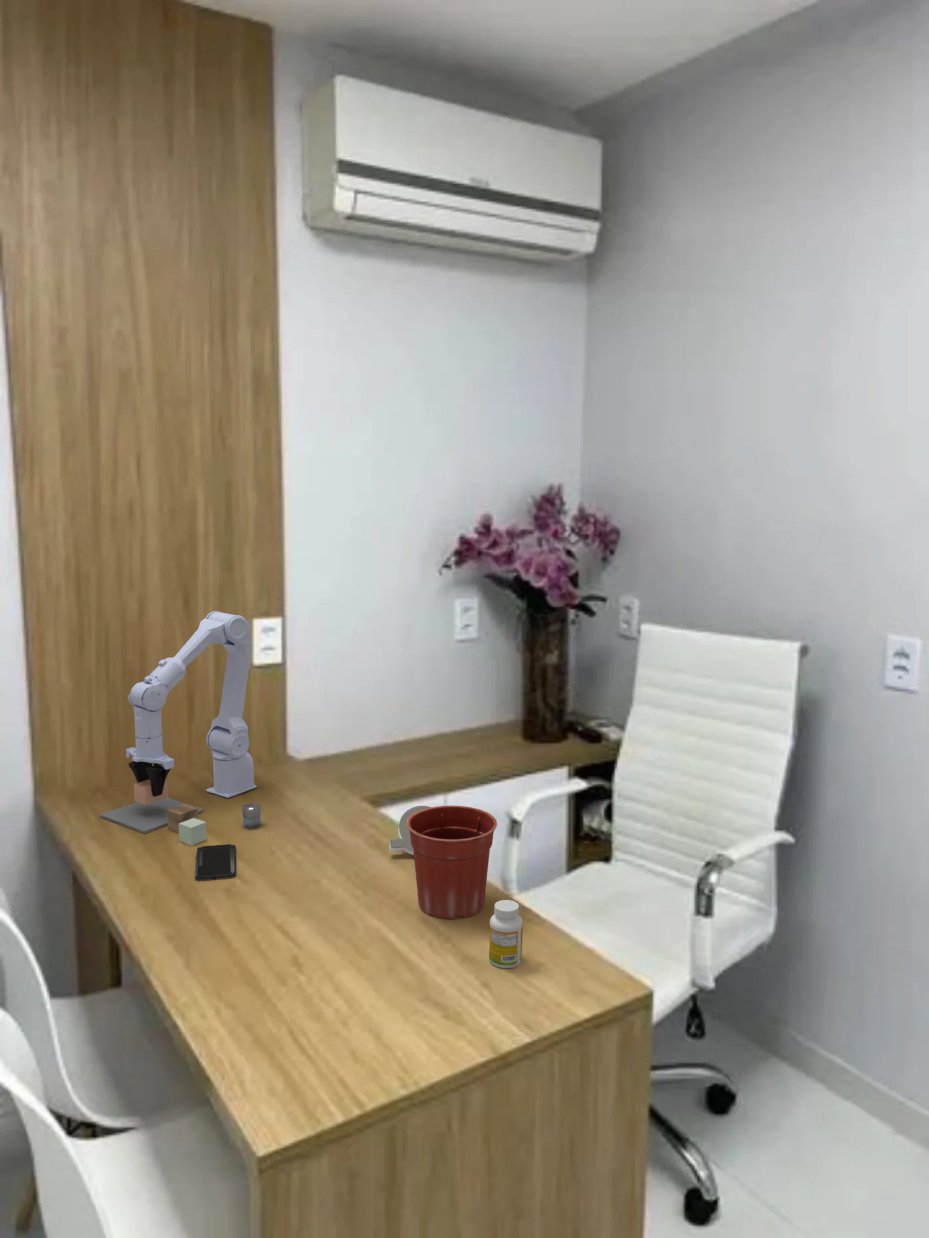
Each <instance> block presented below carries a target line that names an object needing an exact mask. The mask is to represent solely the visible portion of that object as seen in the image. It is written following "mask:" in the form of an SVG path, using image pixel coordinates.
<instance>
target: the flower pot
mask: <svg viewBox="0 0 929 1238" xmlns="http://www.w3.org/2000/svg"><path fill="white" fill-rule="evenodd" d="M430 807H431V808H427V809H423V810H420V811H418V812H415V813H414V814H412V815H411V816H410V817H409V818H408V819H407V822H406V824H407V828H408V830H409V831H410V838H411V845H412V847H413V852H414V855H413V858H414V859H413V860H414V870H415V879H416V888H417V889H416V891H417V903H418V905H419V907H420V908H421V910H422V911H423V912H424V913H425V914H427V915H429V916H430V917H434V918H437V919H438V918H439V919H445V920H454V919H456V918H458V917H462V918H463V917H464V918H468V917H471V916H474V915H476V914H477V913H479V912H480V911H481V910H482V909H483V908H484V906H485V900H486V899H485V898H486V891H487V890H486V889H487V879H488V871H489V869H488V868H489V861H490V853H491V848H492V846H493V839H494V832H495V830H496V829H497V827H498V821H497V818H495V816H493V815H492V814H491V813H490V812H487V811H485V810H483V809H479V808H476V807H472V806H465V805H464V806H463V805H438V806H430Z"/></svg>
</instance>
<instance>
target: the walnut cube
mask: <svg viewBox="0 0 929 1238" xmlns="http://www.w3.org/2000/svg"><path fill="white" fill-rule="evenodd" d="M185 804H186V803H185ZM185 804H183V805H180V806H177V807H174V808H171V809H169V810H167V816H168V825H167V829H168V830H170V831H173V832H175V833H178V834H179V823H182V822H184V821H187V820H190V819H192V818H196V819H198V818H199V816H198V815H199V814H198V812H197V808H198V807H197V808H195V807H196V806H194V807H192V806H193V805H191V806H188V805H189V804H188V805H185Z"/></svg>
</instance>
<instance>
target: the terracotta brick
mask: <svg viewBox="0 0 929 1238" xmlns="http://www.w3.org/2000/svg"><path fill="white" fill-rule="evenodd" d="M168 791H169V790H168V780H167V779H166V780H165V784H164V788H163V792H162V795H159V796H156V797H154V796H153V794H152V790H151V782H150V779H148V780H145V781H142V782H139V783H137V782H136V783H133V797H134V802H135V803H136V802H139V803H142V804H145V805H147V804H150V803H153V802H156V801H159V800H161V799H164V798H169V794H168V793H169V792H168Z"/></svg>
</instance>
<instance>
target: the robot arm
mask: <svg viewBox="0 0 929 1238" xmlns="http://www.w3.org/2000/svg"><path fill="white" fill-rule="evenodd" d="M250 633H251V624H250V623H249V621H247V619H246V618H245V617H244V616H242V615H239V614H231V613H226V612H222V611H219V610H214V611H211V612H209V613H208V614H207V615H206V617H205V618H203V619H202V620H200V623H199V626H198V628H197V630H195V632H194V633H193V634H192V635H191V636H190V638H189V639H188V640H187V641H186V643H185V644H184V645H182V647H181V648H180V650H179V651H178V652H177V653H176V654H175V656H173V657H166V658H165V659H160V661H159V662H158V666H157V667H156V668H155V669H153V670H152V671H151V673H150V674H149V675H146V677H144V681H140V682H137V683H136V684H134V686H132V688H131V690H130V692H129V695H127V700H128V703H129V704H130V705H132V708H133V713H134V714H133V715H134V733H135V735H134V736H135V747H129V748H126V749H125V757H126V758H127V759H130V758H132V759H131V760H132V761H131V762H128V767H129V769H130V770H131V772H132V774H133V775H134V777H135V781H136V783H139V782H142V781H145V780H148V779H150V782H151V790H152V794H153V796H154V797H156V796H159V795H162V792H163V788H164V784H165V780H167V778H168V775H169V773H170V771H171V769H173V768H175V760H174V758H172V757H169V756H168V755H167V754H166V753H165V752H164V748H163V725H162V707H164V706H165V704H166V702H167V698H168V696H169V692H170V691H171V690H172V689H174V687H175V686H176V685H177V684H178V683H179V682H180V681H181V680H182V679H183V678H184V676H186V669H187V668H186V667H187V666H188V665H190V664H191V663H192V662H193V661H194V660H195V659H196V658H197V657H198V656H199V655H201V653H202V652H203V651H206V649H207V648H208V647H209V646H211V645H218V644H221V645H222V646H223V648H224V649H225V650H226V651H227V657H226V663H225V670H224V679H223V686H222V693H221V700H220V706H219V707H220V708H219V712H218V713H219V714H218V716H217V717H215V718H214V719H213V720H212V722H211V726H210V729H209V730H208V733H207V735H206V739H205V740H206V746H207V747H208V748H209V750H211V755H212V767H213V771H212V772H213V786H212V787H208V788H206V792H208V793H211V794H213V795H217V796H221V797H224V798H226V799H229V798H231V797H232V798H233V797H234V796H237V795H240V794H242V793H245V792H248V791H251V790H253V789H256V788H257V787H258V786H257V785H256V784H255V766H254V765H255V764H254V759H253V757H252V755H251V754H250V753H249V752H248V750H249V747H250V739H249V727H248V725H247V723H246V722H245V720H244V719H243V713H244V709H245V708H244V707H245V700H246V695H247V694H246V693H247V688H248V687H247V685H248V680H249V679H248V678H249V672H250V664H251V660H252V659H251V658H252V657H251V656H252V651H253V643H252V639H251V634H250Z"/></svg>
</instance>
